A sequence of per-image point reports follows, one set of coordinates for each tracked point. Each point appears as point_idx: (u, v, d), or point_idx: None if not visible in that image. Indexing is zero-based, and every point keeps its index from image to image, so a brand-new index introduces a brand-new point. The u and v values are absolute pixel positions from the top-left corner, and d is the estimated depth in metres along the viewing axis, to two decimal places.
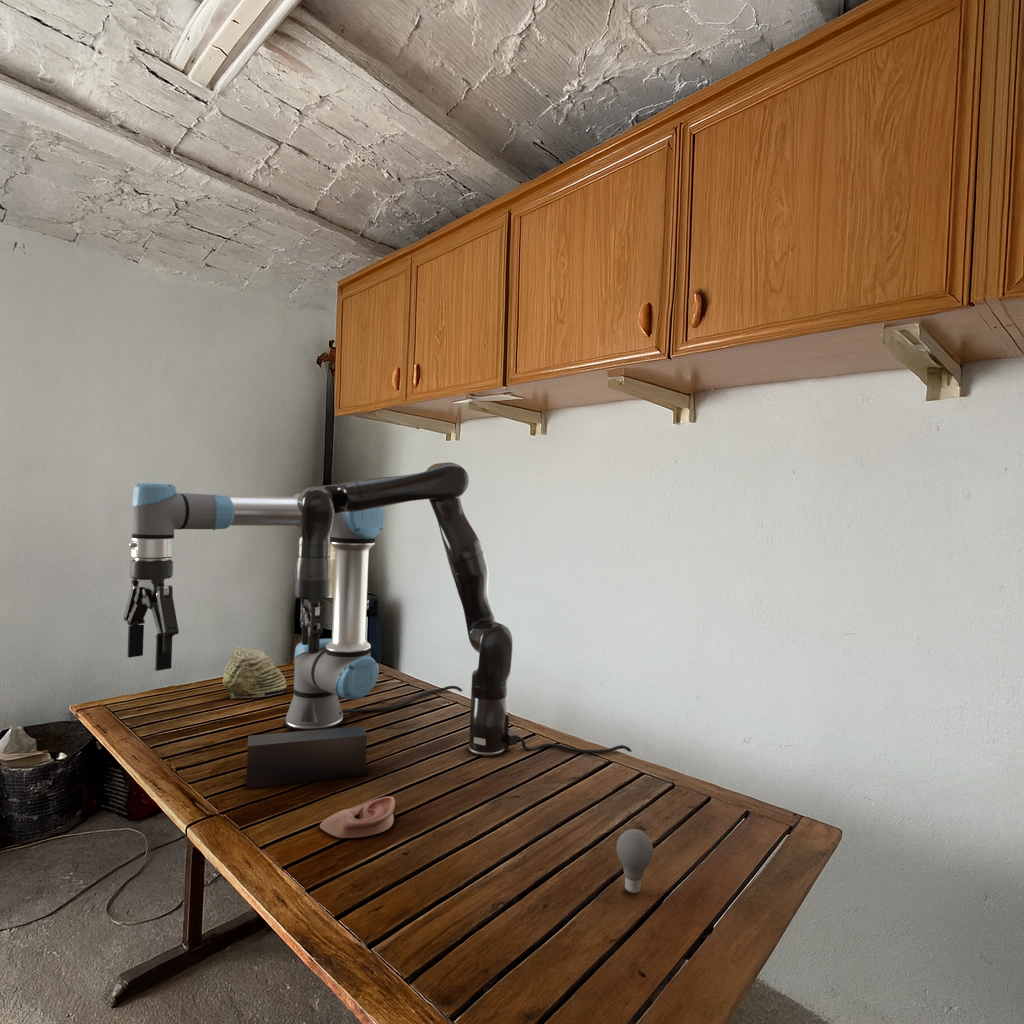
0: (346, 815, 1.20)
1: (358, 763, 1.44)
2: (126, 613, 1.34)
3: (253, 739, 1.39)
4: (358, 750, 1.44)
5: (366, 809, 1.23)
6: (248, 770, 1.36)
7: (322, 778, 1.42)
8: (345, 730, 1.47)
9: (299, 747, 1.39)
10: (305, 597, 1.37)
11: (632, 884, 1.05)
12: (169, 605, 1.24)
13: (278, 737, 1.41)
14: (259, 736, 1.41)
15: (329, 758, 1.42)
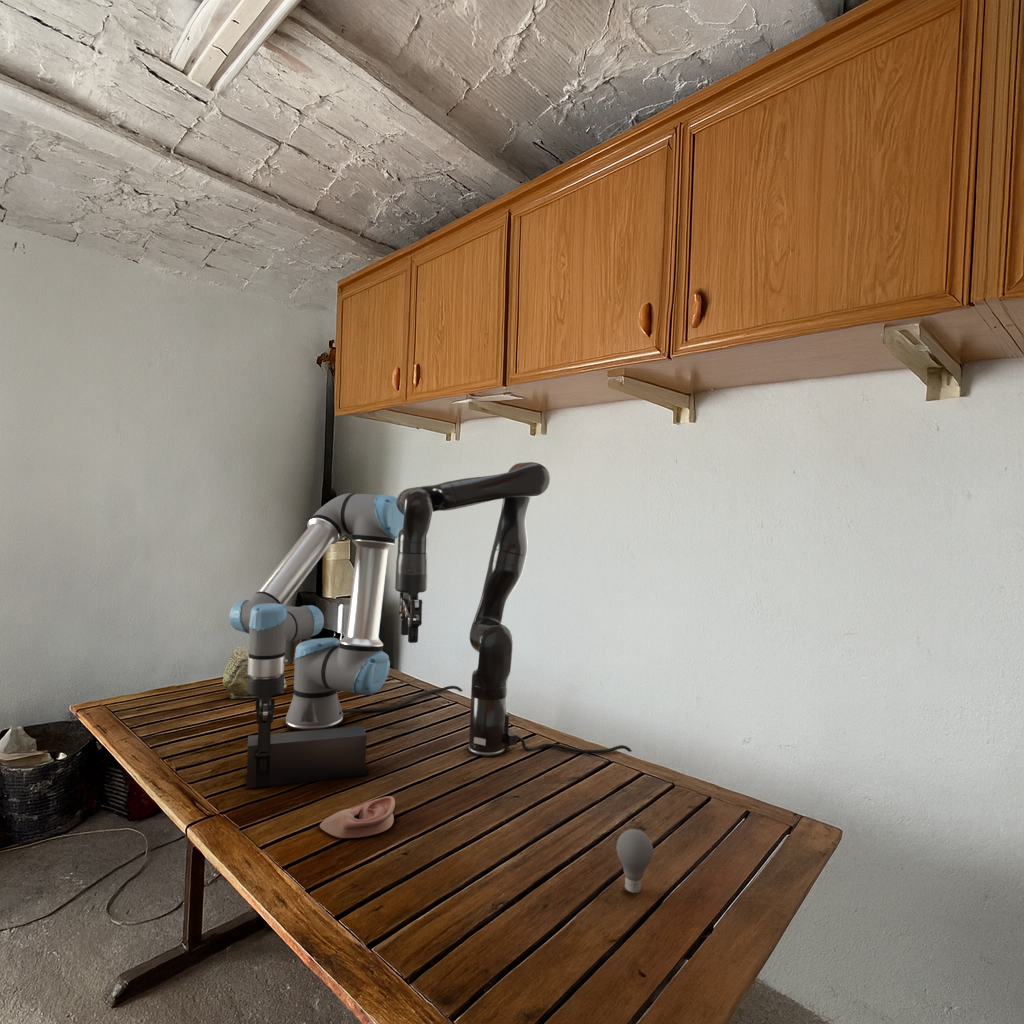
0: (346, 815, 1.20)
1: (358, 763, 1.44)
2: (269, 748, 1.34)
3: (253, 739, 1.39)
4: (358, 750, 1.44)
5: (366, 809, 1.23)
6: (248, 770, 1.36)
7: (322, 778, 1.42)
8: (345, 730, 1.47)
9: (299, 747, 1.39)
10: (405, 590, 1.48)
11: (632, 884, 1.05)
12: None
13: (278, 737, 1.41)
14: None
15: (329, 758, 1.42)
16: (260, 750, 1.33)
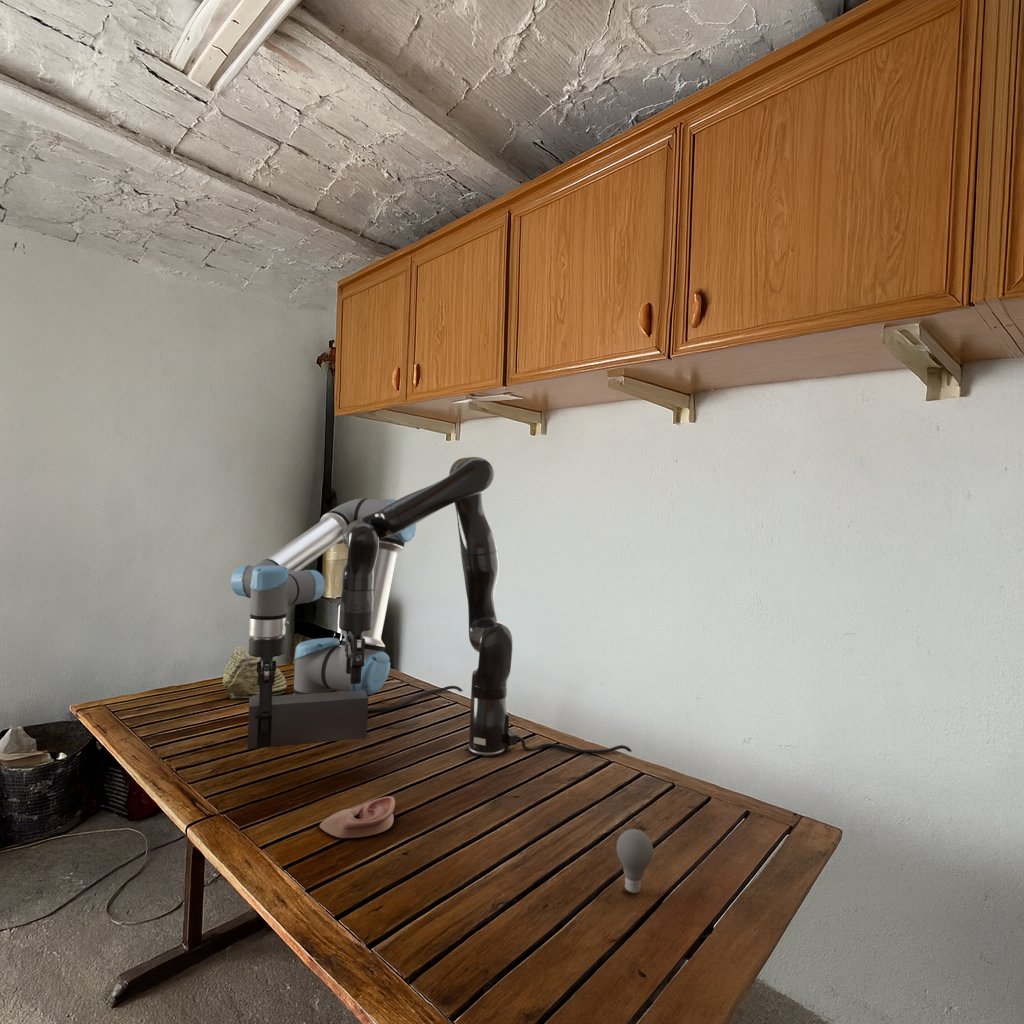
0: (346, 815, 1.20)
1: (360, 726, 1.44)
2: (271, 708, 1.34)
3: (255, 700, 1.39)
4: (359, 712, 1.44)
5: (366, 809, 1.23)
6: (249, 730, 1.36)
7: (323, 740, 1.41)
8: (346, 693, 1.47)
9: (300, 709, 1.39)
10: (348, 629, 1.42)
11: (632, 884, 1.05)
12: None
13: (280, 699, 1.41)
14: None
15: (331, 720, 1.42)
16: (262, 710, 1.33)
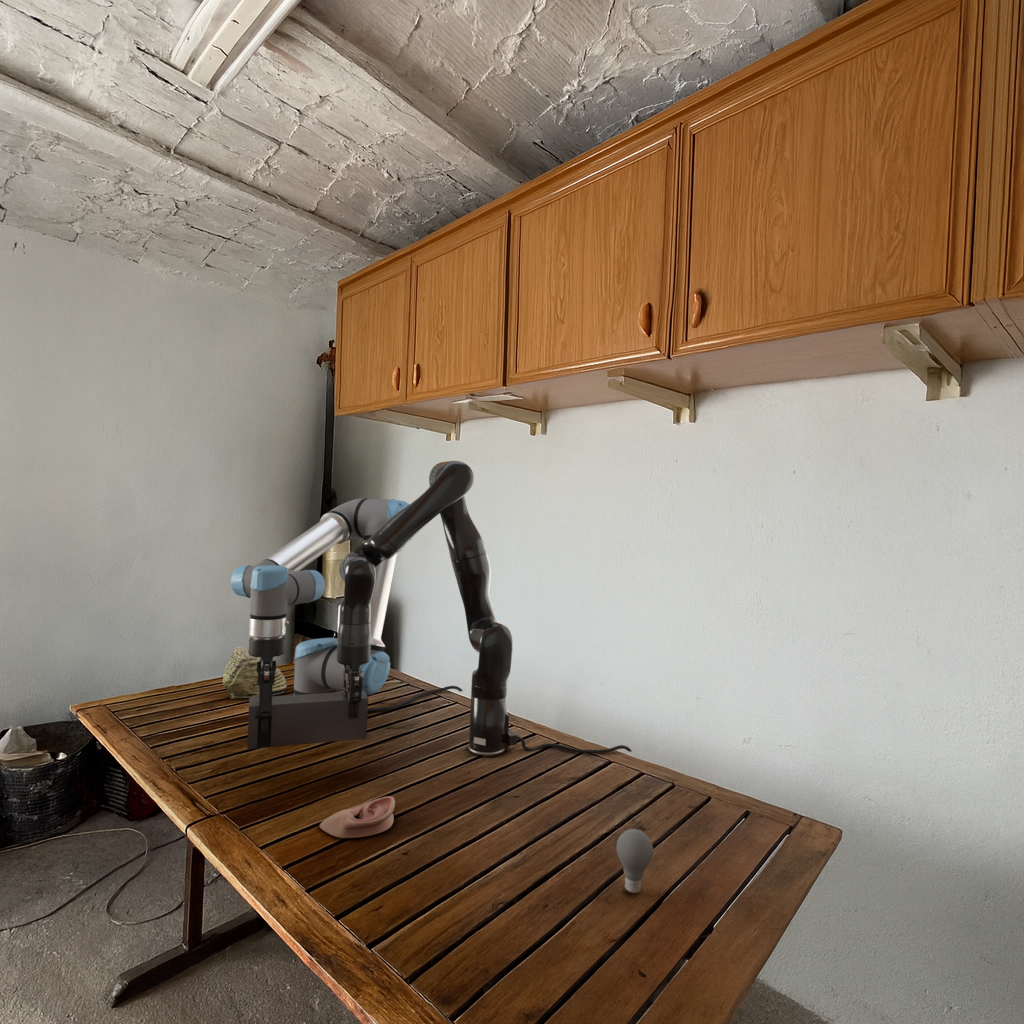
0: (346, 815, 1.20)
1: (360, 726, 1.44)
2: (271, 708, 1.34)
3: (255, 701, 1.39)
4: (359, 713, 1.44)
5: (366, 809, 1.23)
6: (249, 731, 1.36)
7: (323, 740, 1.41)
8: (346, 694, 1.47)
9: (300, 709, 1.39)
10: (346, 663, 1.42)
11: (632, 884, 1.05)
12: None
13: (280, 699, 1.41)
14: None
15: (331, 720, 1.42)
16: (262, 710, 1.33)
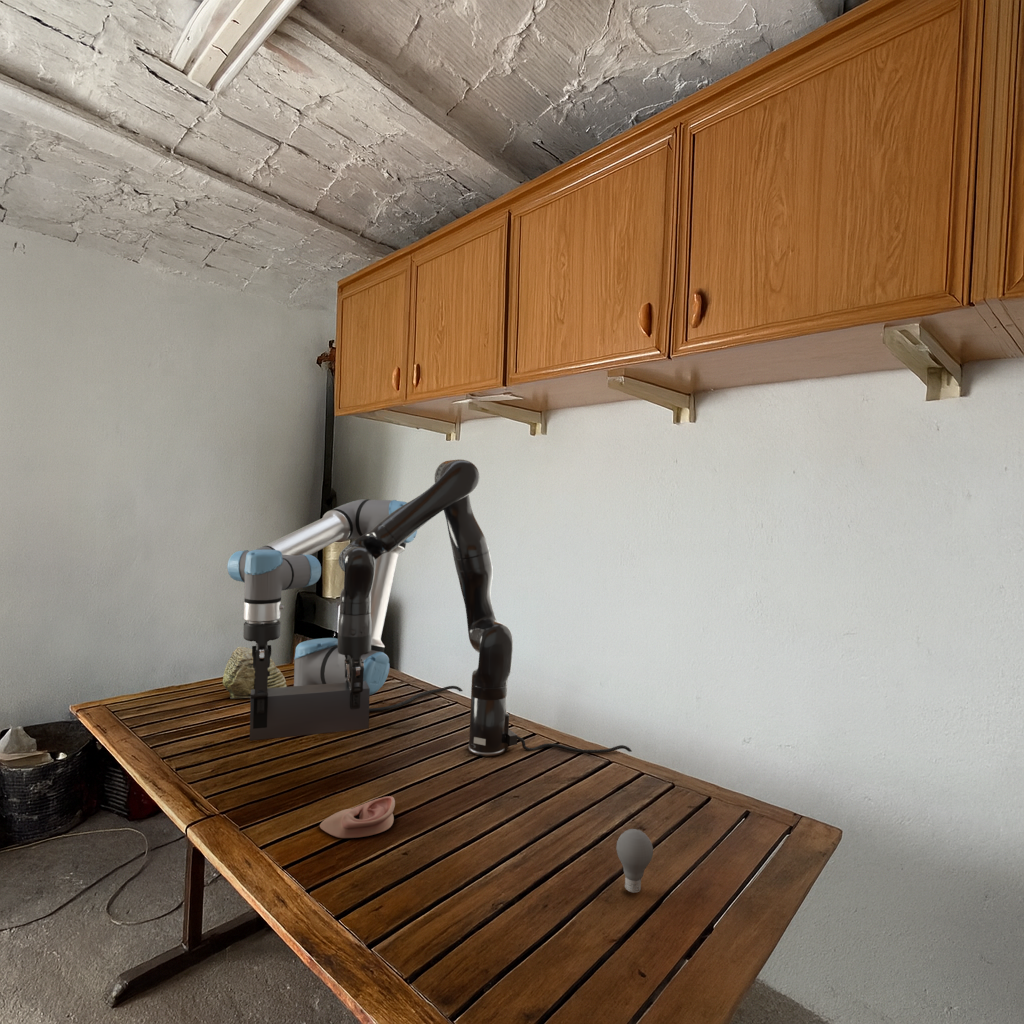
0: (346, 815, 1.20)
1: (362, 716, 1.44)
2: None
3: None
4: (361, 703, 1.44)
5: (366, 809, 1.23)
6: (251, 722, 1.36)
7: (325, 731, 1.41)
8: (348, 684, 1.47)
9: (302, 700, 1.39)
10: (347, 653, 1.42)
11: (632, 884, 1.05)
12: None
13: (281, 690, 1.41)
14: None
15: (333, 711, 1.42)
16: (257, 688, 1.30)
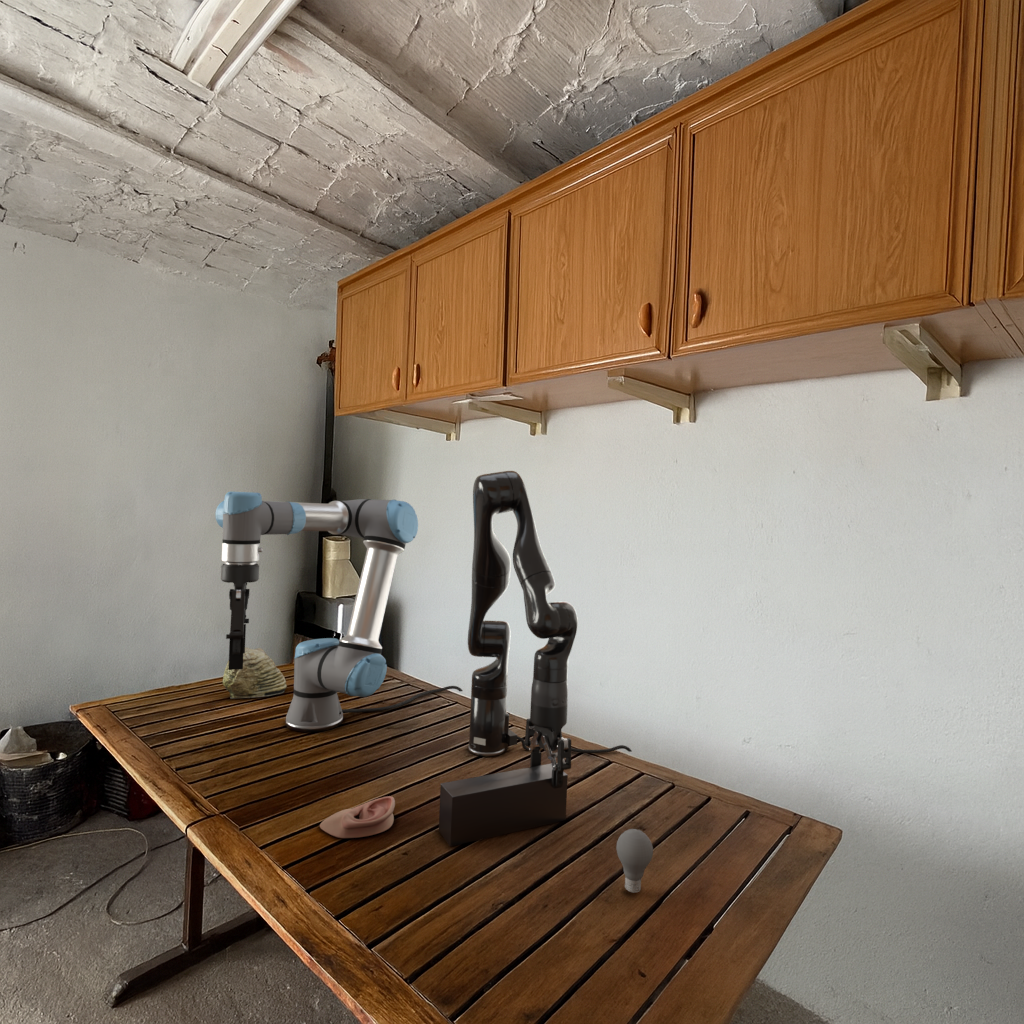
0: (346, 815, 1.20)
1: (560, 807, 1.28)
2: (243, 628, 1.29)
3: (451, 787, 1.20)
4: (559, 792, 1.27)
5: (366, 809, 1.23)
6: (452, 825, 1.17)
7: (525, 827, 1.24)
8: (539, 770, 1.30)
9: (502, 794, 1.21)
10: (548, 726, 1.25)
11: (632, 884, 1.05)
12: None
13: (476, 783, 1.22)
14: (453, 783, 1.22)
15: (532, 804, 1.25)
16: (233, 627, 1.28)
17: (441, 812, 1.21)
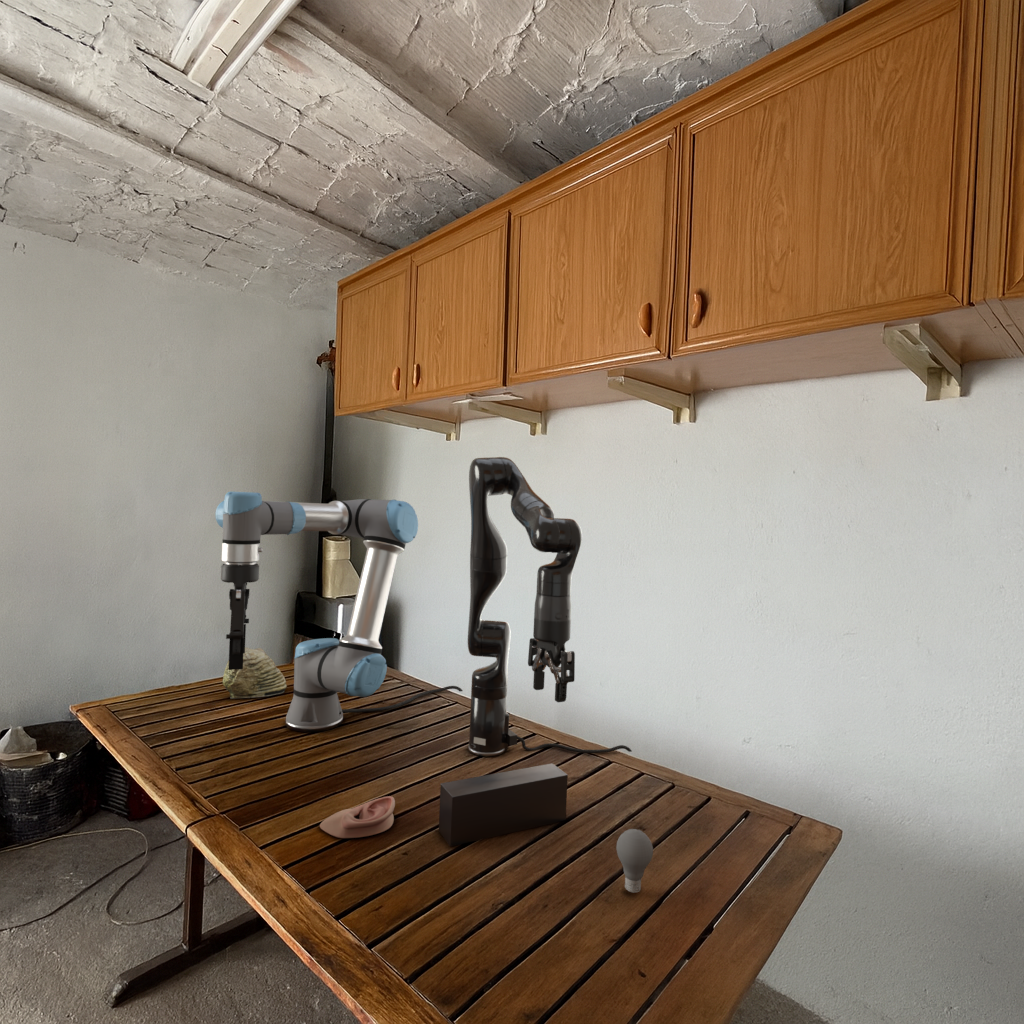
0: (346, 815, 1.20)
1: (560, 807, 1.28)
2: (243, 628, 1.29)
3: (451, 787, 1.20)
4: (559, 792, 1.27)
5: (366, 809, 1.23)
6: (452, 825, 1.17)
7: (525, 827, 1.24)
8: (539, 770, 1.30)
9: (502, 794, 1.21)
10: (551, 640, 1.25)
11: (632, 884, 1.05)
12: None
13: (476, 783, 1.22)
14: (453, 783, 1.22)
15: (532, 804, 1.25)
16: (233, 627, 1.28)
17: (441, 812, 1.21)
